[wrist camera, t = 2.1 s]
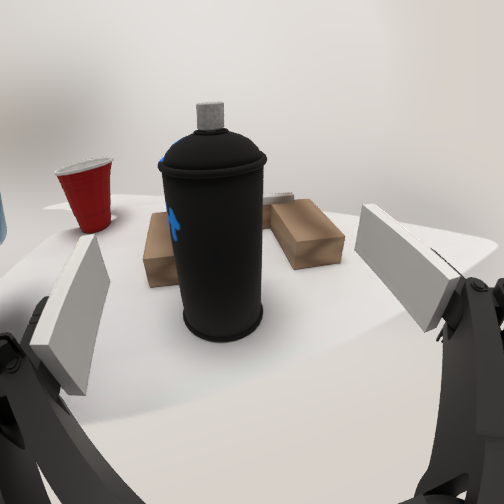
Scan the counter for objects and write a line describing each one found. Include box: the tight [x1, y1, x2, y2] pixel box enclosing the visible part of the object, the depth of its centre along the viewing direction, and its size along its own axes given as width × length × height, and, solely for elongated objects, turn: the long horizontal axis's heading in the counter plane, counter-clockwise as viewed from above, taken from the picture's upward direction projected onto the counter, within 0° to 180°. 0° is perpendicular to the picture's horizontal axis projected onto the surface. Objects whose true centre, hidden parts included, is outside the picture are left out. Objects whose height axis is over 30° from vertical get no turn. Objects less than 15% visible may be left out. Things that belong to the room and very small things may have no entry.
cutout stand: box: [143, 193, 345, 287], centre depth 38 cm, size 24×12×5 cm, turn 102°
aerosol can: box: [158, 102, 267, 342], centre depth 24 cm, size 8×8×20 cm
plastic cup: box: [54, 157, 114, 233], centre depth 43 cm, size 11×11×12 cm
